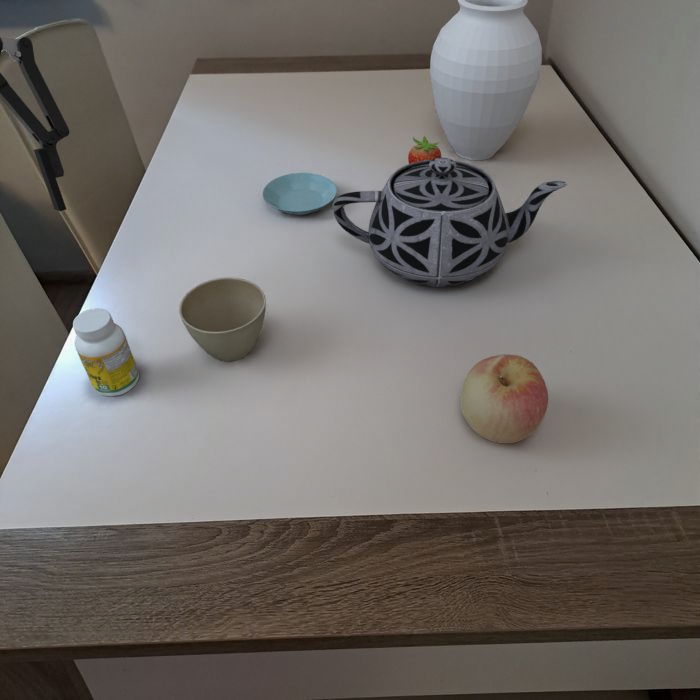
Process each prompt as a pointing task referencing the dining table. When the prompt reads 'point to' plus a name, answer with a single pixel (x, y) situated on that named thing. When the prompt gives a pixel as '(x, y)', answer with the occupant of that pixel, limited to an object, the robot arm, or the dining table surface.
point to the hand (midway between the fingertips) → (20, 219)
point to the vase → (484, 74)
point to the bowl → (224, 316)
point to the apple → (504, 398)
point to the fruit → (423, 151)
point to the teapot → (440, 221)
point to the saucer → (299, 193)
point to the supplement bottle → (105, 353)
